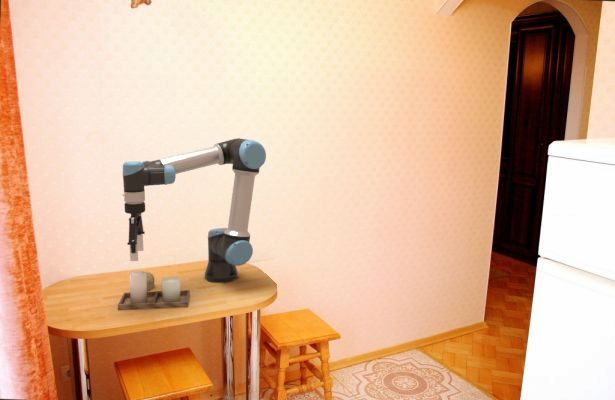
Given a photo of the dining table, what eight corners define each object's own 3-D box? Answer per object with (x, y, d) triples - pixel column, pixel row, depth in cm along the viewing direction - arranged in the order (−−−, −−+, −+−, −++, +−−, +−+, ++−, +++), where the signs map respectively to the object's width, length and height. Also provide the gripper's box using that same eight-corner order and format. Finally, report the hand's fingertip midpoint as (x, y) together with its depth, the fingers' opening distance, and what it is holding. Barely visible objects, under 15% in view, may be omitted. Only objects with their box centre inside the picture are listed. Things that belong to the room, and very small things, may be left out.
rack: (189, 297, 217) (189, 290, 216) (187, 309, 204) (187, 302, 203) (124, 299, 213) (124, 292, 212) (118, 312, 200) (117, 305, 199)
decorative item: (140, 302, 220) (152, 285, 217) (122, 287, 220) (135, 270, 218) (151, 295, 229) (163, 278, 226) (134, 280, 229) (146, 264, 227)
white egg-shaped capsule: (181, 297, 213) (180, 276, 211) (179, 304, 206) (179, 282, 205) (163, 298, 212) (162, 277, 210) (161, 305, 205) (160, 283, 204)
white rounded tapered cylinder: (148, 299, 211) (147, 270, 209) (146, 305, 205) (145, 276, 202) (131, 299, 210) (130, 271, 208) (129, 306, 204) (127, 276, 201)
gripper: (130, 196, 211) (132, 246, 215) (118, 208, 187) (121, 265, 191) (149, 196, 212) (151, 246, 216) (139, 208, 188) (142, 265, 192)
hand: (137, 255), depth 204 cm, fingers open, 13 cm apart
